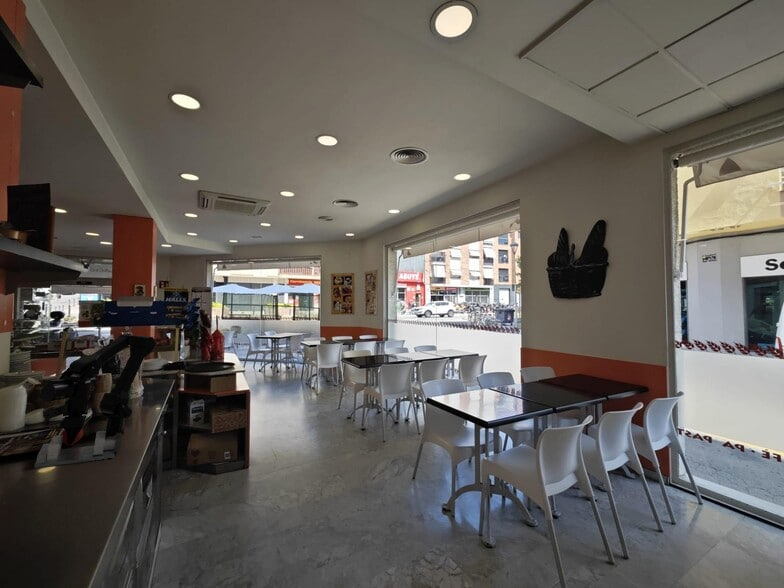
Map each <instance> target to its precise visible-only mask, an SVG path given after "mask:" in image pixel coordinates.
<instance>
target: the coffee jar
mask: <svg viewBox="0 0 784 588" xmlns="http://www.w3.org/2000/svg"><path fill="white" fill-rule="evenodd" d="M120 375H121V373H119V374H117V375H115V376H114V377H112V380H111V386H110V392H111V391H112V390H113V389H114V388H115V385H116V383H117V381H118V379H119V377H120ZM133 385H134V382H133V383H132V385H131V387H130V389H129V391H128V397H129V401H128V404H127V406H128V407H129V408H130V406H131V398H132V391H133ZM110 392H109V393H110Z"/></svg>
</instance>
